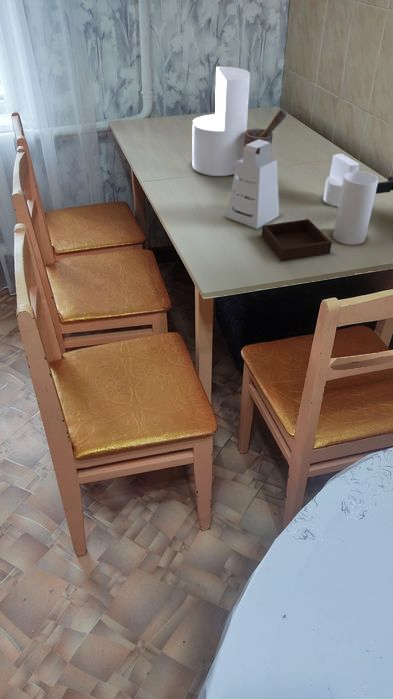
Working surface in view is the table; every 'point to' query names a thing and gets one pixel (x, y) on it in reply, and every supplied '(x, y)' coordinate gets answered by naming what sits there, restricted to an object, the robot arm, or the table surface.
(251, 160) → the grater
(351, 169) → the base with upright slab
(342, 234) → the cup
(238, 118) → the cylinder
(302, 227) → the tray
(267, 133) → the mortar and pestle
